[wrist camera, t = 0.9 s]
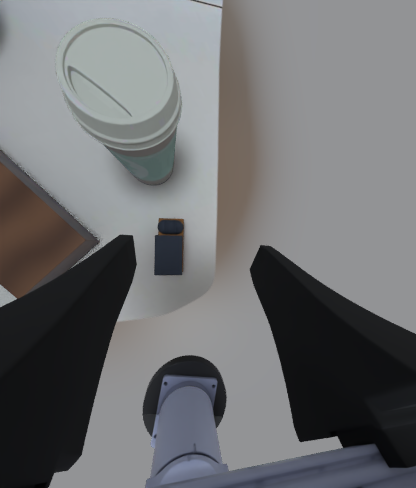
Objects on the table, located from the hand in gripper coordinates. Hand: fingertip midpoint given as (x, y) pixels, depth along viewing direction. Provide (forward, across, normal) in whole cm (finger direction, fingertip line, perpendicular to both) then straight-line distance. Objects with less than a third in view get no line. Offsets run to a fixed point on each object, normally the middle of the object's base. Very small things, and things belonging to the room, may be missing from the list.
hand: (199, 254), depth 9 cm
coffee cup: (+18, +6, 0) cm, 19 cm away
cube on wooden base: (+11, +2, +8) cm, 14 cm away
